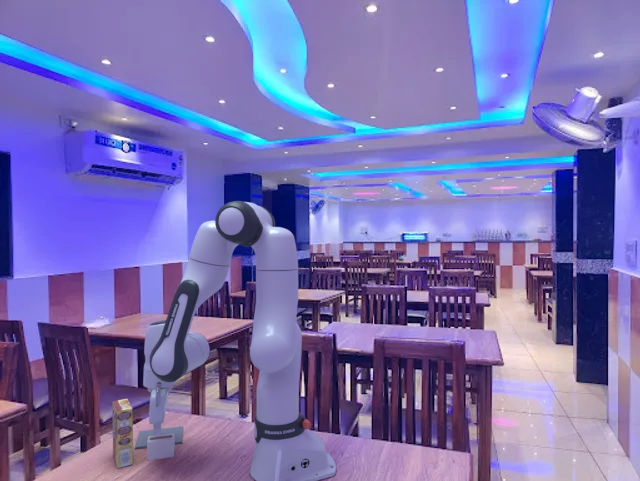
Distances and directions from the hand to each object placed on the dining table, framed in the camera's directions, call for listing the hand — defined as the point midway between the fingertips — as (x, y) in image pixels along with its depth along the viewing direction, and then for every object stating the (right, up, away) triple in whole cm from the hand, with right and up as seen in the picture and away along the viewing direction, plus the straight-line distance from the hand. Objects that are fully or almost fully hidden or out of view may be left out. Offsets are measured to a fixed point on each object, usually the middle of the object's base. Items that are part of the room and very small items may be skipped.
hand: (158, 426), depth 121 cm
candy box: (-9, -8, -3) cm, 12 cm away
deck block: (+1, -8, 0) cm, 8 cm away
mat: (-3, -8, +10) cm, 13 cm away
